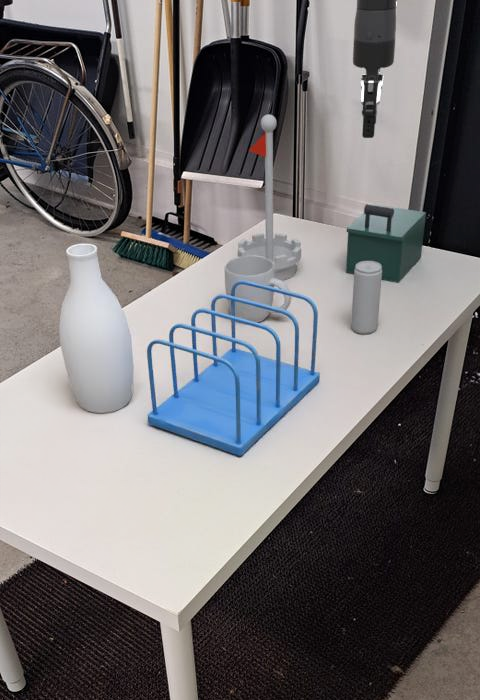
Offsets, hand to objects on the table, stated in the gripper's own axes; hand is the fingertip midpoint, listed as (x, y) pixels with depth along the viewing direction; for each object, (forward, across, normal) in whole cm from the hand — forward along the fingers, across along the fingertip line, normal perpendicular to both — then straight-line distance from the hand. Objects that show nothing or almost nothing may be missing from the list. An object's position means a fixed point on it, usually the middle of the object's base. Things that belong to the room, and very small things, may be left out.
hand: (369, 130), depth 165 cm
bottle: (+25, -62, +39) cm, 77 cm away
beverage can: (+25, -34, -2) cm, 42 cm away
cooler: (+25, -5, -5) cm, 26 cm away
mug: (+25, -31, +18) cm, 43 cm away
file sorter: (+25, -61, +17) cm, 68 cm away
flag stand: (+25, -10, +18) cm, 32 cm away
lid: (+16, -6, -5) cm, 18 cm away
